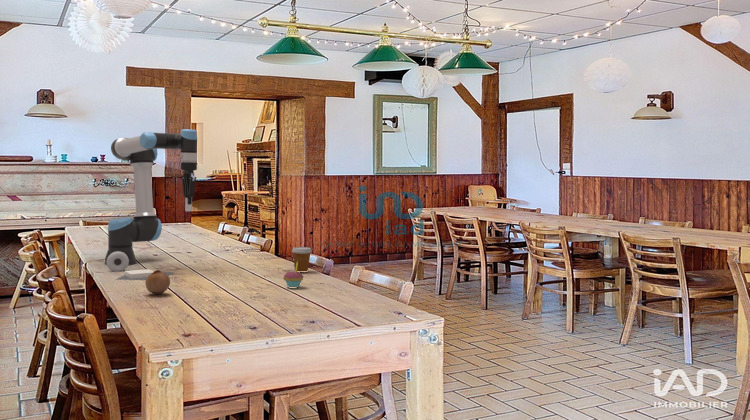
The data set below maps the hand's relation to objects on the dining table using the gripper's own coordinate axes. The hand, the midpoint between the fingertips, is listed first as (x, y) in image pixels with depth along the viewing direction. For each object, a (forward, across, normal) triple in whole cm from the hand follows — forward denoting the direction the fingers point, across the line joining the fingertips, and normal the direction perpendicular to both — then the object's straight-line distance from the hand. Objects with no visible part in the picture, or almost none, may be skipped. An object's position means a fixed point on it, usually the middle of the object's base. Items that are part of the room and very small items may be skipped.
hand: (188, 211), depth 331 cm
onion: (+30, +48, -31) cm, 64 cm away
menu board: (+28, +5, -19) cm, 34 cm away
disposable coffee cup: (+30, +26, +48) cm, 62 cm away
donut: (+30, -14, -29) cm, 44 cm away
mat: (+29, +5, -22) cm, 37 cm away
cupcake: (+30, +60, +24) cm, 71 cm away
